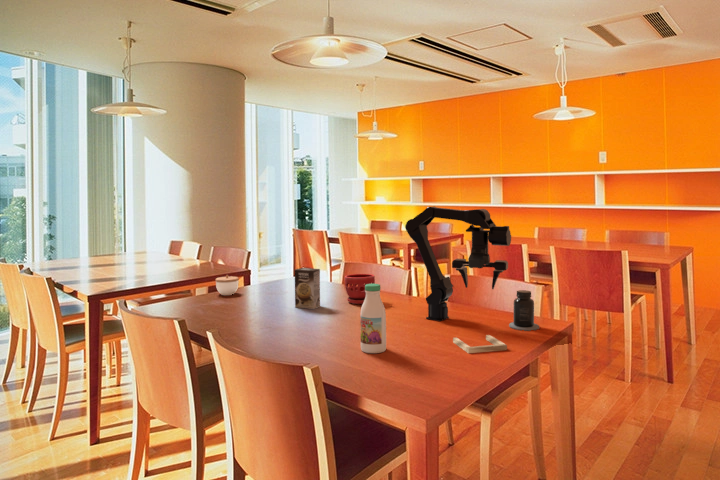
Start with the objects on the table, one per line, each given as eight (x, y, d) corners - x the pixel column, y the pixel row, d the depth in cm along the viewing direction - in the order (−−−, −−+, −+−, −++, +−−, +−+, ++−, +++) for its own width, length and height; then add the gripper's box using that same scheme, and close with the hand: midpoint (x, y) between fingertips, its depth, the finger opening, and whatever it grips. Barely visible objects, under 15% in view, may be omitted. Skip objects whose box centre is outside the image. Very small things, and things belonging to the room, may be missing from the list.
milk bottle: (369, 344, 154) (369, 281, 152) (391, 348, 149) (390, 283, 147) (355, 351, 147) (354, 285, 145) (377, 355, 143) (376, 287, 141)
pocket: (453, 342, 155) (453, 337, 155) (489, 339, 157) (489, 334, 157) (468, 353, 144) (468, 348, 144) (506, 350, 146) (507, 345, 146)
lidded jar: (212, 296, 233) (211, 276, 232) (222, 291, 243) (221, 273, 242) (233, 296, 231) (232, 276, 230) (242, 292, 241) (242, 273, 240)
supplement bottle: (537, 325, 171) (538, 291, 170) (527, 328, 167) (528, 294, 166) (519, 321, 176) (520, 288, 175) (509, 325, 172) (509, 291, 171)
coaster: (504, 327, 171) (504, 326, 171) (515, 321, 179) (515, 320, 178) (533, 332, 164) (533, 330, 164) (543, 326, 172) (543, 324, 172)
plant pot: (380, 300, 217) (380, 274, 216) (364, 306, 206) (364, 278, 205) (355, 297, 224) (355, 271, 223) (339, 303, 213) (338, 276, 212)
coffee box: (294, 307, 206) (293, 269, 205) (302, 304, 212) (301, 267, 211) (313, 309, 203) (313, 270, 201) (321, 305, 209) (320, 268, 207)
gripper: (448, 246, 170) (448, 290, 171) (503, 247, 162) (503, 294, 163) (455, 243, 180) (455, 285, 181) (508, 244, 172) (508, 288, 174)
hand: (479, 288), depth 175 cm, fingers open, 9 cm apart
